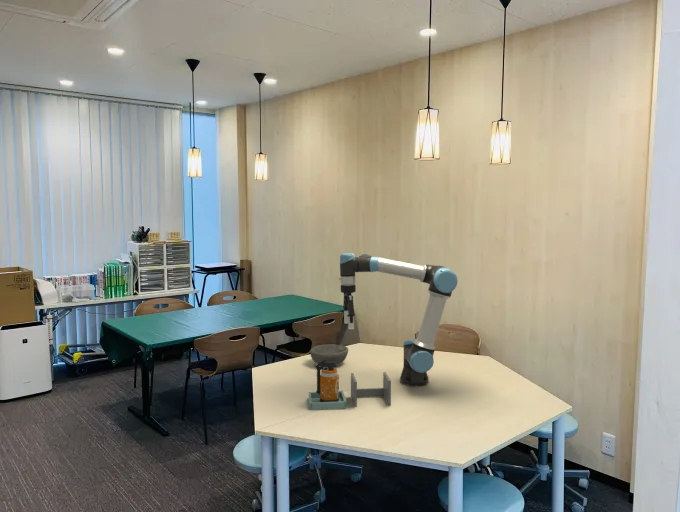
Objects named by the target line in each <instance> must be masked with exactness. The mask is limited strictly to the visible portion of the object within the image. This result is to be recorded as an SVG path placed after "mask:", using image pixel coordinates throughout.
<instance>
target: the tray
mask: <svg viewBox="0 0 680 512" xmlns="http://www.w3.org/2000/svg"><path fill="white" fill-rule="evenodd" d="M308 405H309V410H310V411H317V410H318V411H319V410H322V411H323V410H340V409H341V410H342V409H344V410H345V409H347V408H348V407H347V399H346V396H345V392H344V390H339V401H338V402H320V394H318V393H317V392H316V391H308Z"/></svg>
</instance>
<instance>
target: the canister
mask: <svg viewBox="0 0 680 512" xmlns="http://www.w3.org/2000/svg"><path fill="white" fill-rule="evenodd" d="M337 364H338V363H335V361H333V362H330V361H325V360H324V361H322V362H320V363H319V364H317V363H316V364H315V368H316V369H315V370H316V391H315V392H317V393H318V394H320V402H338V401H339V391H340V389H339V387H340V386H339V385H340V377H339V372H338V369H337V368H336V366H338V365H339V364H338V365H337Z"/></svg>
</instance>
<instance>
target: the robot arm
mask: <svg viewBox="0 0 680 512" xmlns="http://www.w3.org/2000/svg"><path fill="white" fill-rule="evenodd" d="M375 272H378V273H383V274H389V275H393V276H398V277H404V278H408V279H414V280H419V281H420V282H421V283H424V284H428V285H429V286H428V289H427V291H428V293H429V296H428V301H427V304H426V307H425V311H424V314H423V316H422V317H423V318H422V321H421V325H420V327H419V331H418V334H417V338H408V339H405V340H404V342H403V368H402V370H401V374H400V376H399V382H400V383H401V384H402V385H406V386H409V387H410V386H411V387H421V386H422V387H423V386H425V385H428V384H429V375H428V373H427V372H428V371H430V370H432V368H433V366H434V364H435V363H434V362H435V361H434V354H435V351H436V347H435V345H434V343H435V340H436V337H437V334H438V329H439V326H440V324H441V323H440V322H441V319H442V316H443V313H444V310H445V305H446V303H447V300H448V299H450V298H451V296H452V293H453V291H454V290H456V288H457V285H458V282H459V281H458V277H457V274H456V273H455V271H454V270H452V269H451V268H449V267H447V266H446V267H445V266H443V265H436V264H435V265H434V264H425V263H424V264H422V265H421V264H416V263H410V262H405V261H400V260H394V259H391V258H384V257H380V256H375V255H369V254H365V253H363V254H360V255H359V256H357V257H356V256H355V253H351V252H350V253H349V252H346V253H341V254H340V255H339V274H340V275H339V276H340V277H339V281H340V292H341V293H342V294H343V306H342V308H343V318H344V319H343V321H344V324H348V327H347V328H348V330H355V307H354V306H355V305H354V296H353V295H352V294H353V293H356V289H357V287H356V283H357V281H356V273H375Z"/></svg>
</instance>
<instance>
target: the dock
mask: <svg viewBox="0 0 680 512" xmlns="http://www.w3.org/2000/svg"><path fill="white" fill-rule="evenodd" d="M382 377H383V378H382V383H383V384H382V386H383V387H374V388H372V387H370V388H358V381H357V379H356V376H355V374H354V372H351V373H350V399H351V401H352V404H353V407H354V408H357V407H358V406H357V405H358V398H379V397H383V398H384V400H385V403H386V404H387V406H390V407H391V405H392V380H391V379H390V377H389V375H388V374H387V372H385V371H383V373H382Z"/></svg>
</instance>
